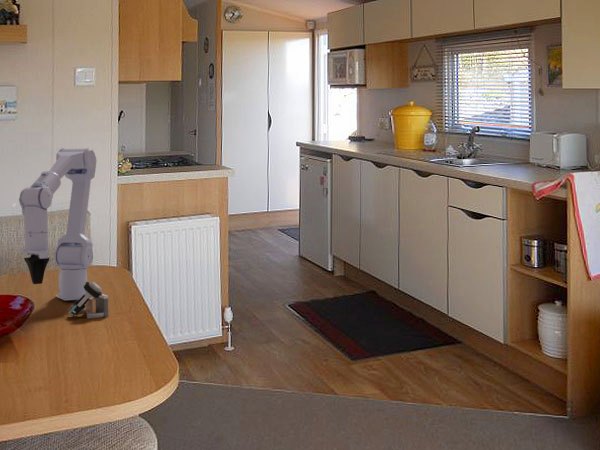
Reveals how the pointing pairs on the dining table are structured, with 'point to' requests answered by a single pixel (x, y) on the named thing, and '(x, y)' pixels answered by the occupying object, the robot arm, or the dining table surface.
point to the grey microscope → (86, 297)
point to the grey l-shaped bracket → (99, 307)
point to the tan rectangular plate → (91, 306)
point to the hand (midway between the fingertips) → (37, 283)
